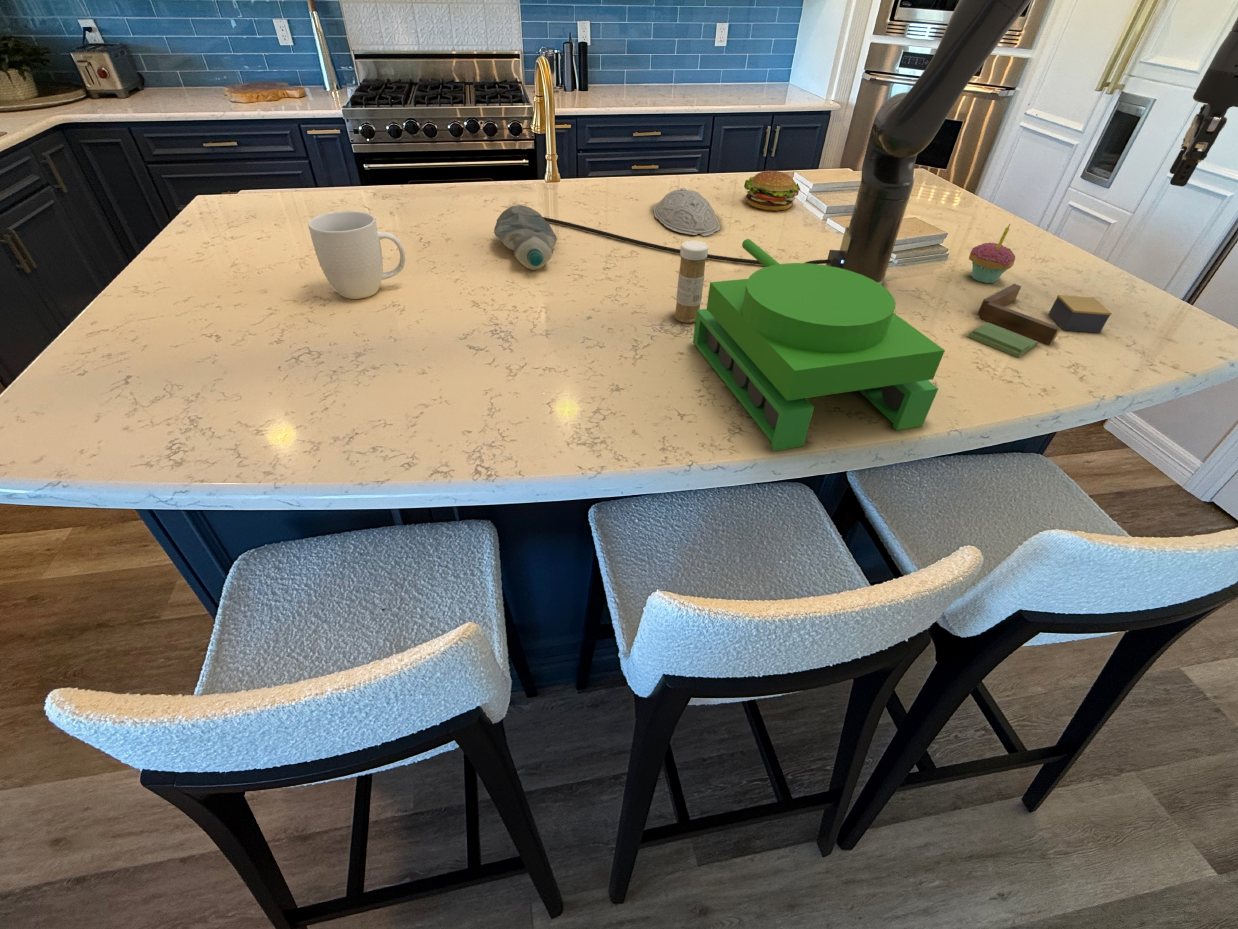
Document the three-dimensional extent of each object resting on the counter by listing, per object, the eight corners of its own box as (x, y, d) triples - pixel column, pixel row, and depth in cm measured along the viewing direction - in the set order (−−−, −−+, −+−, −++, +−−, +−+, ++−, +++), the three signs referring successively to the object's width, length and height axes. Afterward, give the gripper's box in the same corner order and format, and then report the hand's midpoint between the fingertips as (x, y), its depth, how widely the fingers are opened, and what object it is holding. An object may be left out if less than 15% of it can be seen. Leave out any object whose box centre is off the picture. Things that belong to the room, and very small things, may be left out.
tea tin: (1062, 330, 115) (1073, 310, 112) (1047, 314, 120) (1057, 294, 117) (1100, 333, 114) (1112, 313, 112) (1083, 316, 119) (1094, 297, 117)
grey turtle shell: (704, 199, 165) (705, 172, 160) (730, 238, 147) (732, 209, 142) (646, 205, 164) (645, 179, 159) (665, 246, 146) (664, 217, 141)
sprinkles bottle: (690, 310, 116) (699, 237, 107) (704, 321, 112) (713, 247, 104) (669, 315, 114) (676, 241, 105) (682, 326, 111) (690, 250, 102)
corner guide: (997, 341, 111) (1004, 325, 109) (962, 294, 125) (968, 280, 124) (1055, 345, 110) (1063, 330, 108) (1012, 298, 125) (1019, 283, 123)
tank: (803, 316, 115) (825, 226, 105) (925, 425, 90) (970, 321, 79) (680, 330, 110) (690, 236, 99) (772, 451, 84) (799, 343, 74)
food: (806, 204, 167) (813, 172, 162) (779, 216, 158) (785, 183, 153) (761, 192, 173) (766, 161, 168) (733, 203, 165) (738, 171, 160)
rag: (967, 336, 112) (970, 329, 111) (986, 326, 115) (989, 319, 114) (1018, 357, 106) (1021, 350, 105) (1036, 345, 110) (1039, 338, 109)
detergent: (492, 234, 141) (499, 277, 122) (492, 201, 137) (498, 240, 118) (550, 236, 144) (565, 279, 125) (552, 204, 140) (568, 243, 121)
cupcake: (1009, 288, 128) (1036, 229, 121) (966, 284, 129) (990, 225, 122) (999, 272, 135) (1024, 215, 127) (957, 268, 136) (979, 211, 128)
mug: (408, 274, 123) (395, 206, 115) (414, 298, 116) (401, 226, 107) (326, 283, 119) (307, 212, 111) (327, 308, 111) (306, 234, 103)
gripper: (1207, 60, 103) (1150, 166, 113) (1212, 70, 94) (1149, 184, 104) (1264, 66, 100) (1200, 174, 110) (1275, 76, 91) (1204, 193, 101)
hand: (1176, 179), depth 107 cm, fingers open, 8 cm apart
